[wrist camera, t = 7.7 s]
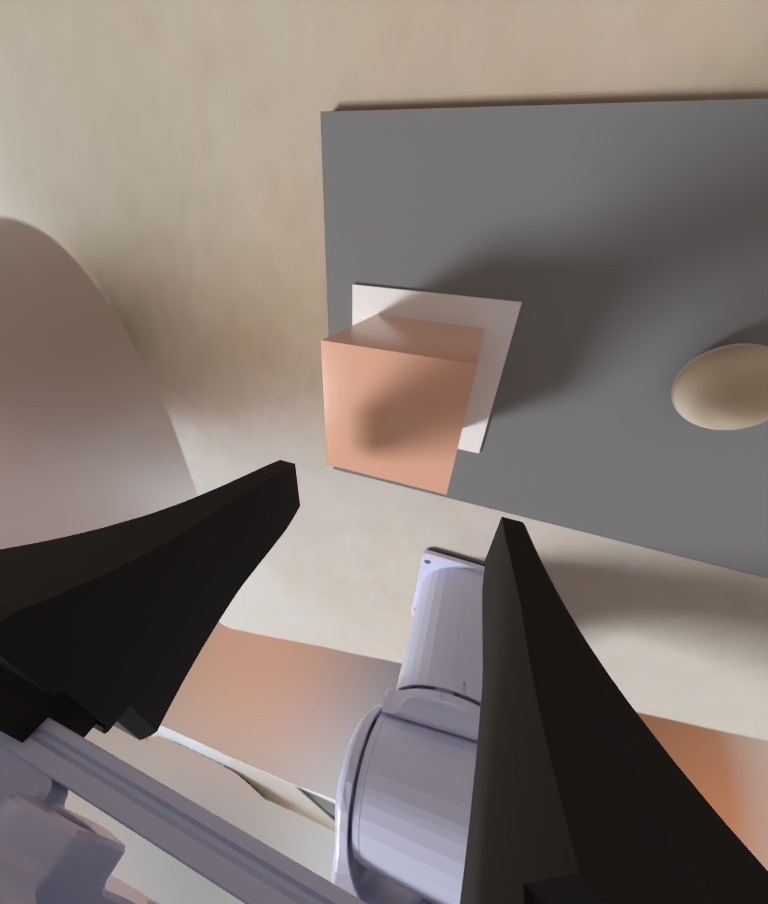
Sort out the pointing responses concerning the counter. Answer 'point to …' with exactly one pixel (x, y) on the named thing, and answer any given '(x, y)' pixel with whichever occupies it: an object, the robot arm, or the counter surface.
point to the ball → (724, 388)
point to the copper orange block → (398, 397)
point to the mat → (572, 299)
